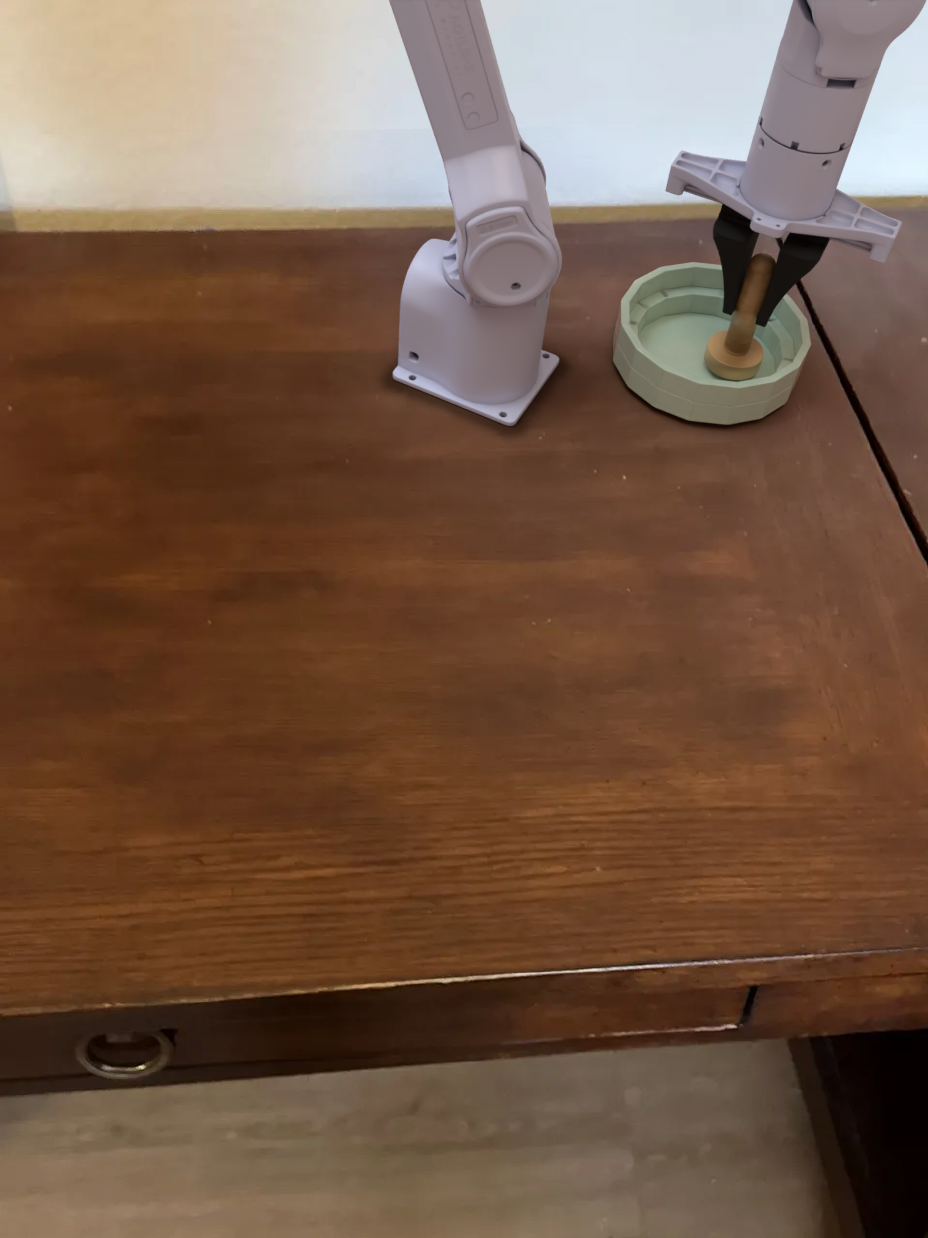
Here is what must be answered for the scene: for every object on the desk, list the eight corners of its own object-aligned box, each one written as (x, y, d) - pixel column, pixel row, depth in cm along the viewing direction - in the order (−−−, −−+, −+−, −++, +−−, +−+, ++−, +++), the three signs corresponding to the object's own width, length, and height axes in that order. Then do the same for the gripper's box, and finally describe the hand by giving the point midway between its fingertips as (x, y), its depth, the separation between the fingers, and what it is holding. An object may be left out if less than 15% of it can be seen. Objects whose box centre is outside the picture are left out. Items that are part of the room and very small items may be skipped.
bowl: (582, 386, 85) (591, 341, 82) (651, 285, 93) (662, 241, 89) (759, 456, 82) (775, 412, 79) (816, 346, 90) (833, 302, 86)
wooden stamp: (696, 368, 85) (727, 261, 78) (713, 335, 88) (746, 229, 80) (749, 387, 85) (786, 281, 77) (766, 354, 87) (803, 248, 80)
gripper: (669, 121, 71) (627, 308, 82) (911, 199, 68) (834, 382, 79) (707, 68, 75) (663, 253, 86) (937, 139, 72) (861, 321, 83)
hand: (747, 311), depth 83 cm, fingers closed on wooden stamp, 2 cm apart
